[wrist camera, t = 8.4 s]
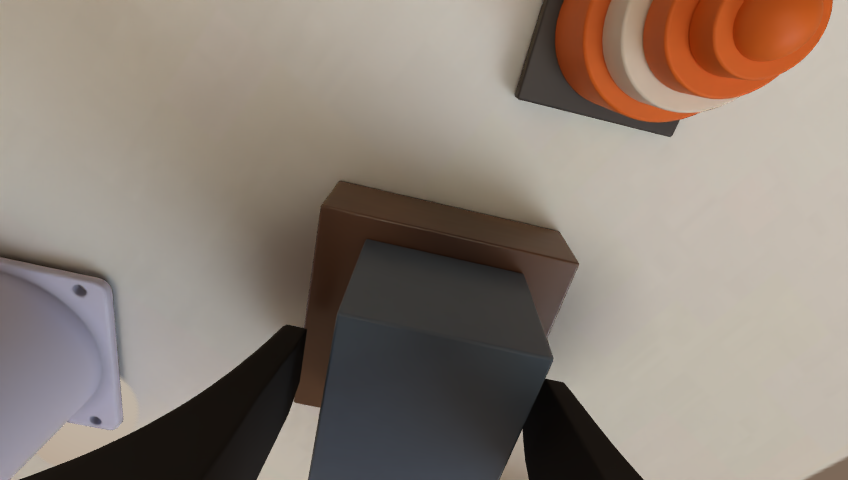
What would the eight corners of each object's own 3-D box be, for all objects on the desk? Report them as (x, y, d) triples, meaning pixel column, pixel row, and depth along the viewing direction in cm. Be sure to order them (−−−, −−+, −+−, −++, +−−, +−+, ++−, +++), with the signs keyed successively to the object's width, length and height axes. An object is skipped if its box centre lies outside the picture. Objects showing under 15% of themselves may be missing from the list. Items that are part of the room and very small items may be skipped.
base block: (311, 358, 18) (293, 403, 16) (339, 180, 15) (320, 204, 13) (494, 395, 19) (502, 444, 17) (559, 231, 15) (580, 263, 13)
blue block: (335, 395, 16) (303, 501, 12) (365, 237, 13) (336, 312, 9) (468, 422, 16) (476, 533, 12) (524, 273, 13) (555, 359, 10)
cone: (513, 96, 14) (576, 144, 7) (571, -95, 12) (730, -260, 5) (663, 133, 14) (849, 211, 8) (746, -46, 12) (1095, -146, 6)
